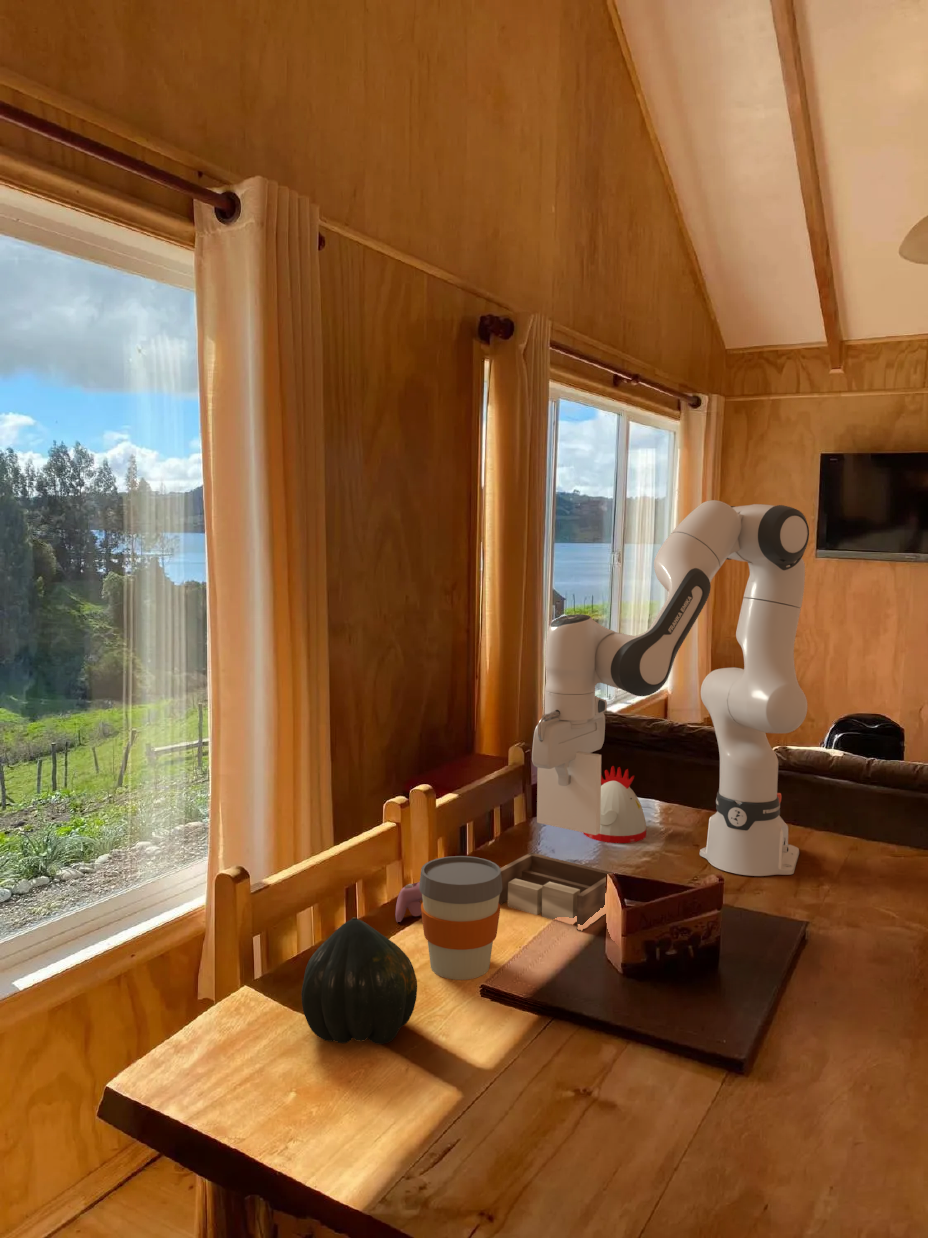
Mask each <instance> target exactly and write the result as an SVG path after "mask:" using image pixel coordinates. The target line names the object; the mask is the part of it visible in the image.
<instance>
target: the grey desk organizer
mask: <svg viewBox="0 0 928 1238" xmlns="http://www.w3.org/2000/svg"><path fill="white" fill-rule="evenodd" d="M500 870H501V878H502V888H503V889H502V892H501V893H500V895H499V902H498V903H499V904H500V905H502V904H504V903H506V902H508V882H510V881H511V880H513V879H515V878H516V879H520V880H524V881H527V882H531V883H535V884H539V885H542V886H543V885H545V884H546V883H548V882H553V883H557V884H561V885H565V886H568V887H572V888H576V889H580V894H578V895H577V923H576V925H577V924H580V925H583V924H584V923H585V922H586V921H587V920H588V919H589V918H590V917H592V916H593V915H594V914H595V913H596V912H598V911H599V910H600V908H603V907H604V905H605V893H606V888H605V886H606V875H607V874H608V873H615V874H618V875H619V873H618V872H612V871H608V870H603V869H600V868H596V867H591V866H588V865H583V864H580V863H575V862H571V861H567V860H563V859H558V858H554V857H550V856H546V855H542V854H538V853H536V852H529V853H527V854H525V855H523V856H521V857H519V858H517V859H515V860H514V861H512V862H510V863H508V864H506V865H504V866H502V867H500Z"/></svg>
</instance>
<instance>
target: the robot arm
mask: <svg viewBox="0 0 928 1238" xmlns="http://www.w3.org/2000/svg"><path fill="white" fill-rule="evenodd" d="M807 521H808V520H807V518H806V516H805V515H804V513H803V512H802V511H800V510H798V509H797V508H794V507H792V506H788V505H783V504H777V505H773V504H763V503H762V504H760V503H753V504H748V505H738V506H735V505H729V504H728V503H726V502H724V501H721V500H716V499H713V500H707V501H704V502H702V503H701V504H699V505H698V506H697V507H696V508H694V509H693V510H692V511H691V512H690V513H688V514H687V515H686V516H685V518H683V520H681V522H679V523H678V525H677V526H676V527H674V530H672V532H671V533H670V535H668V536H667V538H666V540H665V541H664V542H663V543H662V544H661V547H660V548H659V549H658V552H657V553H656V556H655V558H654V560H653V566H654V572H655V575H656V578H657V580H658V582H659V583H660V584H661V585H662V587H663V588H664V589H665V590H666V591H667V592H668V596H667V599H666V600H665V602H664V603H663V604H662V605H663V606H662V607H661V608H660V610H659V612H658V613H657V615H656V616H655V618H654V620H653V622H652V623H651V625H650V627H648V628H647V630H646V631H644V632H642V633H640V634H637V635H631V634H625V633H621V632H616V631H615V630H612V629H609V628H607V627H605V626H603V625H601V624H600V623H598V621H597V622H596V621H595V620H594V619H593V617H592V616H590V615H587V614H584V613H583V614H582V613H581V614H577V613H576V614H567V615H564V616H560V617H558V618H555V620H553V621H552V622H551V623H550V624H549V626H548V629H547V633H546V634H547V635H546V642H545V655H544V658H545V659H544V665H545V669H546V683H545V685H544V714H543V715H541V718H540V720H539V722H538V724H537V725H536V726H535V729H534V731H533V732H534V733H533V741H532V751H531V761H532V765H533V766H534V767H536V768H538V767H539V768H544V769H552V768H554V767H555V770H556V772H557V774H558V784H559V785H561V786H567V785H569V784H570V783H571V775H569V774H568V770H567V767H569V761H572V760H574V759H575V758H576V753H578V752H587V753H593V752H596V751H599V750H601V749H602V747H603V744H604V742H605V732H606V731H605V730H606V715H605V712H607V708H608V701H607V699H604V698H601V697H599V696H596V685H597V684H603V685H607V686H609V687H612V688H616V689H620V690H622V691H624V692H626V693H629V694H630V695H634V696H636V697H648V696H650V695H654V694H655V693H657V692H658V691H659V690H661V688H662V687H663V686H664V685H665V684H666V682H667V680H668V678H669V677H670V674H671V672H672V668H673V665H674V661H675V659H676V657H677V655H678V653H679V651H680V648H681V646H682V645H683V643H684V641H685V639H686V638H687V636H688V635H689V633H690V631H691V630H692V628H693V626H694V624H695V623H696V621H697V619H698V617H699V616H700V614H701V612H702V611H703V609H704V607H705V605H706V603H707V601H708V598H709V596H710V594H711V589H712V587H711V583H712V580H713V578H714V577H715V575H716V574H717V573H718V571H719V570H720V569H721V567H722V566H723V565H724V563H725V562H726V560H735V561H738V562H746V563H747V565H748V569H749V576H748V579H747V583H746V585H745V589H744V593H743V598H742V603H741V606H740V611H739V617H738V621H737V626H736V632H735V637H736V640H737V642H738V644H739V646H740V647H741V650H742V654H743V664H744V665H743V666H744V667H743V668H740V667H723V668H722V667H721V668H718V669H717V668H716V669H714V670H712V671H710V672H709V673H708V674H707V675H706V676H705V678H704V679H703V680H702V682H701V683H702V684H701V686H700V699H701V701H702V703H703V705H704V707H705V708H706V710H707V711H708V714H709V715H710V719H711V721H712V725H713V727H714V733H715V737H716V740H717V745H718V752H719V753H718V754H719V788H718V791H717V793H716V799H715V806H716V807H715V809H716V812H715V813H714V814H712V815H711V816H710V817H709V819H708V827H707V828H708V829H707V839H706V846H705V847H703V848H701V849H699V856H700V857H702V858H704V859H706V860H707V861H708V863H710V864H711V866H713V867H715V868H716V869H719V870H721V871H725V872H728V873H731V874H736V875H740V876H741V875H743V876H752V877H753V876H754V877H764V876H765V877H767V876H774V875H783V876H784V875H785V876H786V875H793V874H794V873H795V869H796V865H797V862H798V859H799V855H800V850H799V849H800V848H799V847H797V846H795V845H793V844H789V826H788V824H786V822H785V821H784V819H783V818H782V817H781V816H780V815H781V809H780V808H781V802H782V799H783V797H782V793H781V792H778V781H779V780H778V779H779V759H778V756H777V754H776V752H775V751H774V750H773V748H772V746H771V744H770V743H769V740H768V738H767V734H789V733H792V732H794V731H796V730H797V729H798V728H799V727H800V726H801V725H802V724H803V723H804V721H805V719H806V716H807V714H808V713H807V712H808V699H807V696H806V694H805V693H804V691H803V689H802V688H801V686H800V684H799V682H798V678H797V674H796V666H795V656H794V655H795V653H794V652H795V649H794V648H795V641H796V635H797V631H798V630H797V629H798V626H799V625H798V624H799V619H800V615H801V611H802V606H803V605H802V604H803V599H804V593H805V583H806V582H805V580H806V566H805V565H806V564H805V561H804V559H803V556H804V554H805V551H806V549H807V546H808V543H809V539H810V529H809V524H808V522H807ZM766 733H767V734H766Z"/></svg>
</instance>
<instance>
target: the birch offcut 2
mask: <svg viewBox="0 0 928 1238" xmlns="http://www.w3.org/2000/svg"><path fill="white" fill-rule="evenodd" d="M578 894H580V889H576V888H572V887H568V886H565V885H561V884H557V883H553V882H548V883H546V884H545V885H543V886H542V912H541V917H542V918H546V919H550V920H552V921H554V920H553V919H555V918H557V917H569V918H574V917H575V916H577V895H578Z"/></svg>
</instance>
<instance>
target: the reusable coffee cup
mask: <svg viewBox="0 0 928 1238" xmlns="http://www.w3.org/2000/svg"><path fill="white" fill-rule="evenodd" d="M500 868H501V867H500V866H499V865H498V864H497V863H496V862H493V861H491V860H489V859H486V858H480V857H477V856H470V855H469V856H468V855H455V856H452V855H451V856H445V857H439V858H435V859H432V860H430V861H428V862H426V863H424V864H423V865H422V866H421V869H420V877H419V882H420V884H419V890H420V892H421V893H422V899H423V900H422V902H421V913H422V914H421V919H422V921H421V922H422V930H423V936H424V938H425V940H426V941H427V948H428V954H429V966H430V969H431V971H432V972H433V973H434V974H436V975H437V976H439V977H441V978H445V979H449V980H456V981H460V980H461V981H462V980H463V981H465V980H472V979H476V978H480V977H482V976H483V975H485V974H486V973H488V971H489V969H490V967H491V966H490V965H491V957H492V950H493V943H494V941H495V940H496V938H497V935H498V928H499V922H500V913H501V907H502V906H501V904H499V903H498V902H499V895H500V893H501V892H502V889H503V888H502V878H501V870H500Z"/></svg>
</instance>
